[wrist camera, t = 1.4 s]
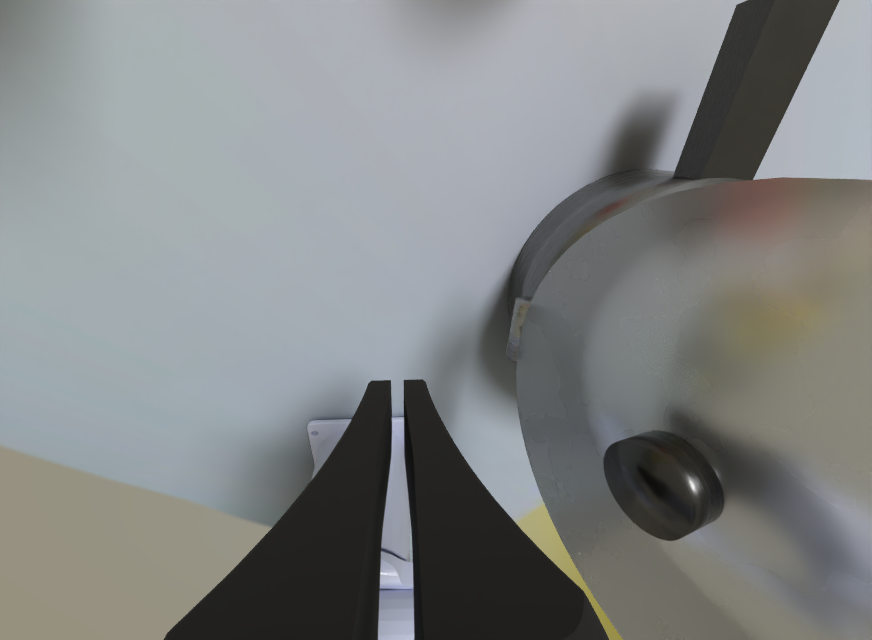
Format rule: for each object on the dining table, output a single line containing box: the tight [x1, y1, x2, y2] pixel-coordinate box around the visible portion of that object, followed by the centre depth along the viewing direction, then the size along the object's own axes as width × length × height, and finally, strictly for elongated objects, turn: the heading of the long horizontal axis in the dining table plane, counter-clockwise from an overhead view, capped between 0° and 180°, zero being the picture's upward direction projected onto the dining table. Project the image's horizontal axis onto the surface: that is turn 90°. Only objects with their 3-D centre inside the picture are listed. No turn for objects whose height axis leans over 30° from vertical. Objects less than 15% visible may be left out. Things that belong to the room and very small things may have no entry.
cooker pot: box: [508, 0, 839, 322], centre depth 18 cm, size 20×14×5 cm
